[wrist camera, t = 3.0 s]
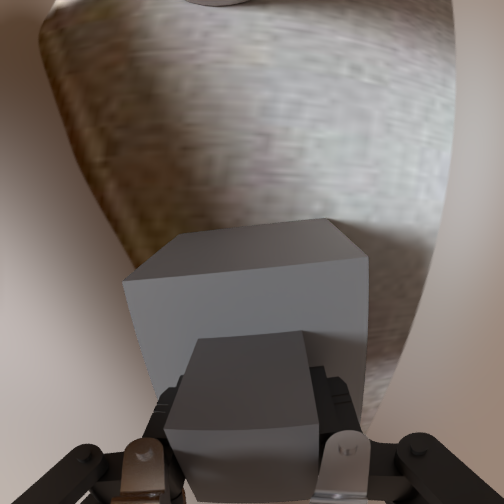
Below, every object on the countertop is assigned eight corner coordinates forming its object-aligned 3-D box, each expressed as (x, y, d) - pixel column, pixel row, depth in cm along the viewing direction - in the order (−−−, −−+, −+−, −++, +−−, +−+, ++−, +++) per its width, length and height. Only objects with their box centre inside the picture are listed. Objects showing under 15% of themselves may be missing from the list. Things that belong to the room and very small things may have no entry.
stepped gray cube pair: (179, 234, 20) (50, 345, 7) (325, 218, 19) (430, 318, 6) (204, 357, 22) (153, 522, 9) (331, 346, 22) (380, 514, 8)
